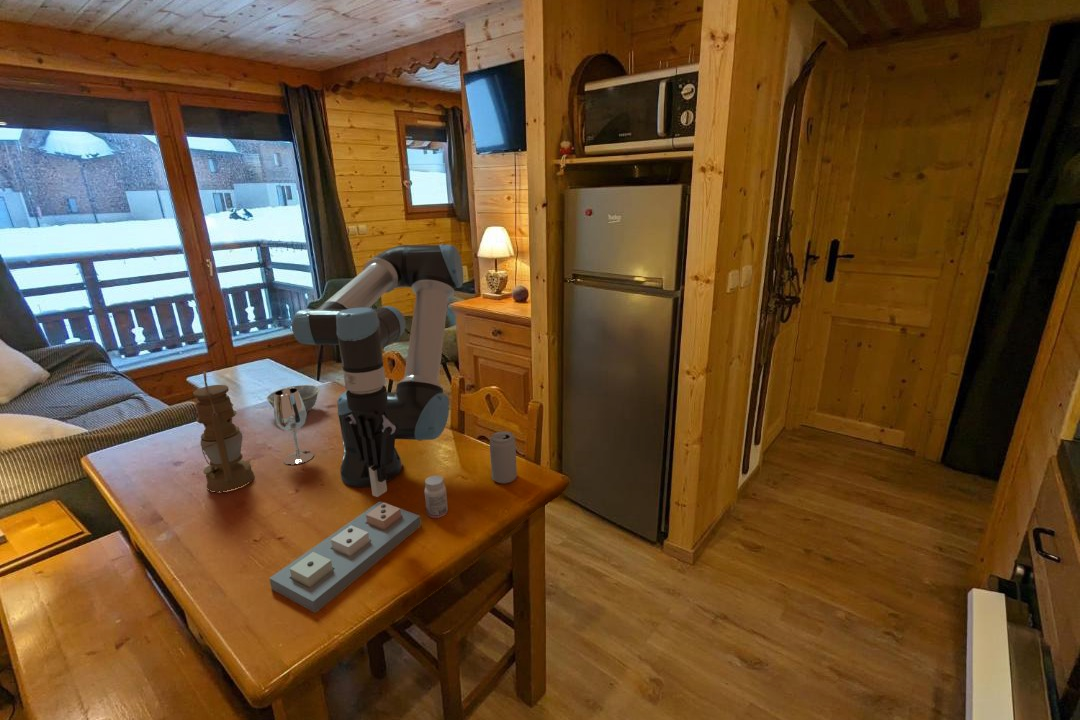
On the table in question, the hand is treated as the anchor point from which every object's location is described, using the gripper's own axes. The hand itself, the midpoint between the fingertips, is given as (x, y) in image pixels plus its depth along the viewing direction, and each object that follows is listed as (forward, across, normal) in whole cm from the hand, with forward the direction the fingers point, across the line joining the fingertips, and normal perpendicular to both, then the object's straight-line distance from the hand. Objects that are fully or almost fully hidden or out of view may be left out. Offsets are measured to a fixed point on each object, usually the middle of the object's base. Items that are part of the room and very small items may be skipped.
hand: (379, 492), depth 103 cm
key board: (+9, 0, -8) cm, 13 cm away
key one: (+8, 0, -18) cm, 19 cm away
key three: (+8, 0, 0) cm, 8 cm away
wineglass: (+9, -45, +12) cm, 48 cm away
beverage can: (+9, +12, +30) cm, 33 cm away
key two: (+8, 0, -9) cm, 11 cm away
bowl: (+9, -73, +32) cm, 81 cm away
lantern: (+9, -50, -4) cm, 51 cm away
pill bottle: (+10, +6, +10) cm, 15 cm away
